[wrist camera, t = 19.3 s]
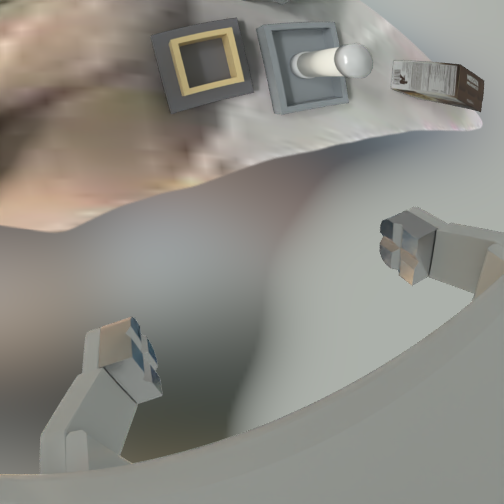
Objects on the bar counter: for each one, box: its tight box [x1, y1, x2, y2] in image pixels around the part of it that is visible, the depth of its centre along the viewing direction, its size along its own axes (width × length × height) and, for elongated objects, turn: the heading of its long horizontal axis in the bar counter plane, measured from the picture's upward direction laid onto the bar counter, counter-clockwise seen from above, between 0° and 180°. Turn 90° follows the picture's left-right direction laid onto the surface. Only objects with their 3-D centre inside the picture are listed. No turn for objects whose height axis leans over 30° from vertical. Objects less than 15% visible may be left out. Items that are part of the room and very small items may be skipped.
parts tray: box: [256, 22, 349, 115], centre depth 39 cm, size 12×14×3 cm
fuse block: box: [151, 18, 254, 114], centre depth 34 cm, size 12×12×4 cm
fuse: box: [289, 44, 373, 79], centre depth 34 cm, size 4×4×14 cm
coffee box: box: [391, 61, 484, 112], centre depth 40 cm, size 9×6×16 cm
